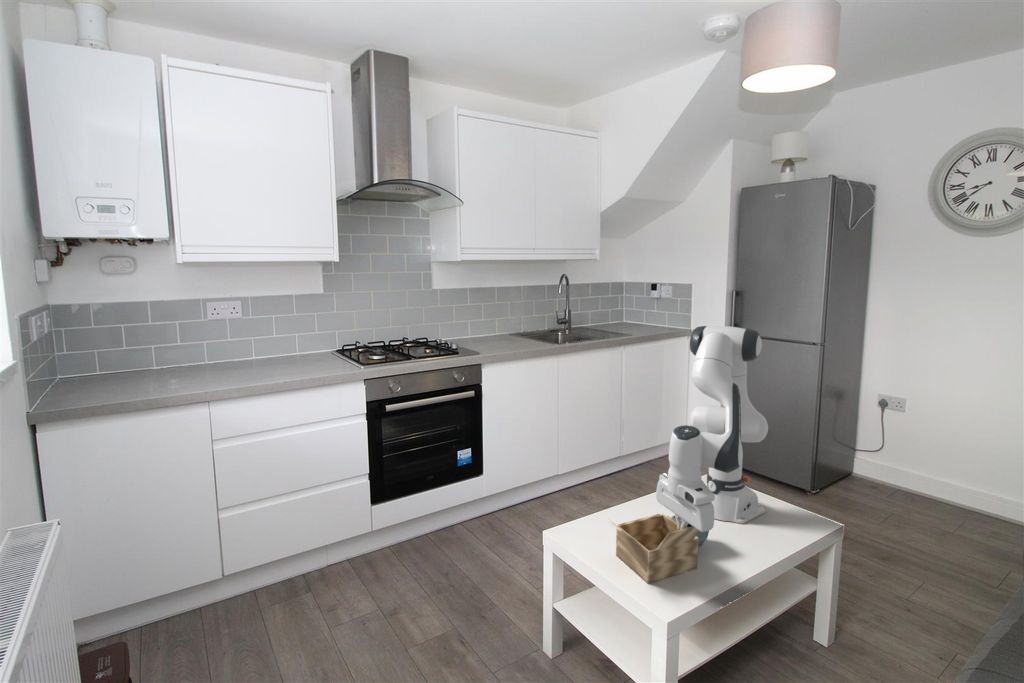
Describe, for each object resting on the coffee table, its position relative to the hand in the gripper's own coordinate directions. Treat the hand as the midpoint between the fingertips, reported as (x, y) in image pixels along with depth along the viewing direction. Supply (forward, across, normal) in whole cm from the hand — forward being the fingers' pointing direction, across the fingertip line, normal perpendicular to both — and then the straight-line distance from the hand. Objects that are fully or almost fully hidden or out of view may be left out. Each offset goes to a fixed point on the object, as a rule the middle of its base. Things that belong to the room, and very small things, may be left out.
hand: (682, 530), depth 150 cm
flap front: (+3, -11, -12) cm, 17 cm away
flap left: (+2, -1, 0) cm, 2 cm away
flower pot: (+17, -14, +16) cm, 27 cm away
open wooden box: (+16, -11, 0) cm, 20 cm away
